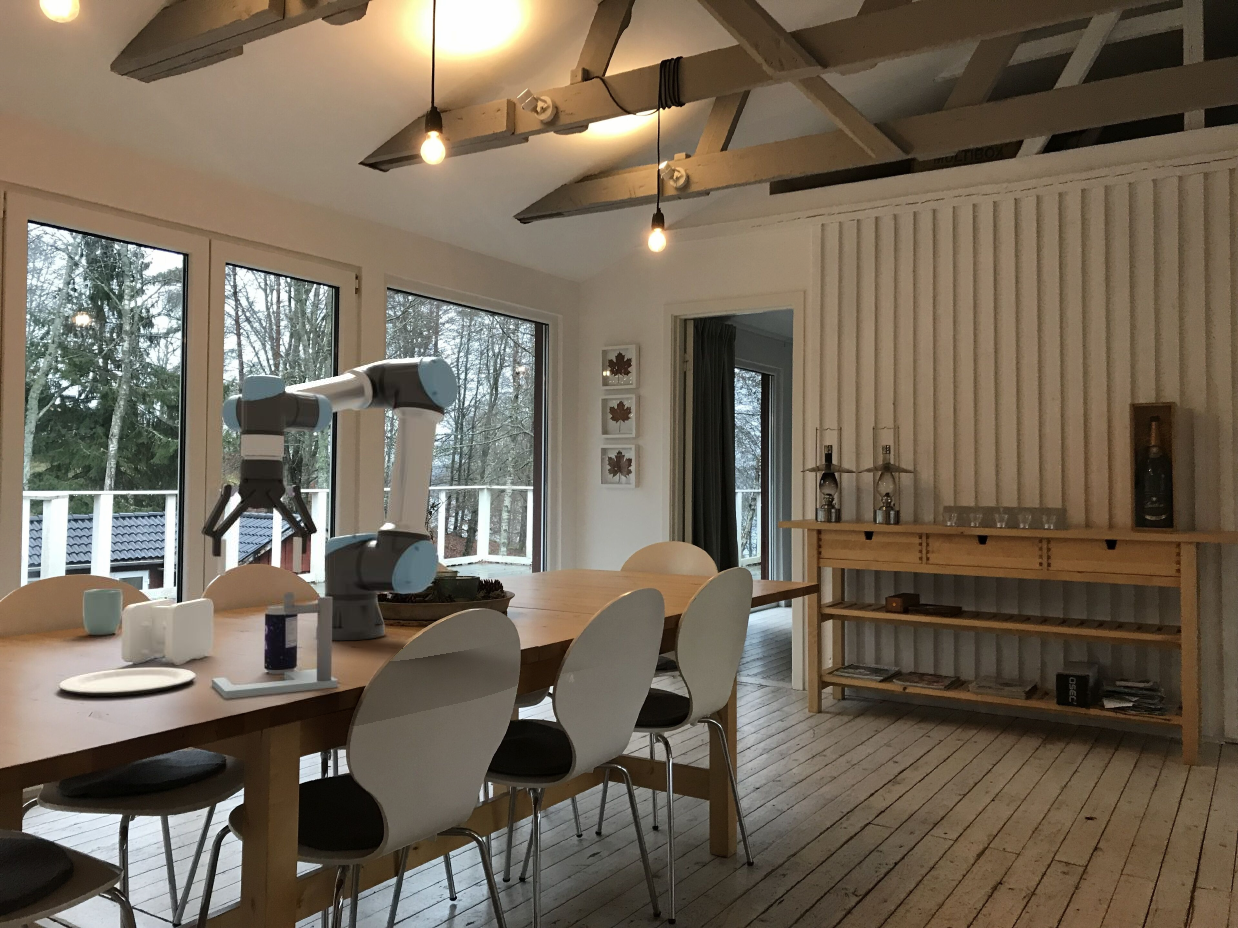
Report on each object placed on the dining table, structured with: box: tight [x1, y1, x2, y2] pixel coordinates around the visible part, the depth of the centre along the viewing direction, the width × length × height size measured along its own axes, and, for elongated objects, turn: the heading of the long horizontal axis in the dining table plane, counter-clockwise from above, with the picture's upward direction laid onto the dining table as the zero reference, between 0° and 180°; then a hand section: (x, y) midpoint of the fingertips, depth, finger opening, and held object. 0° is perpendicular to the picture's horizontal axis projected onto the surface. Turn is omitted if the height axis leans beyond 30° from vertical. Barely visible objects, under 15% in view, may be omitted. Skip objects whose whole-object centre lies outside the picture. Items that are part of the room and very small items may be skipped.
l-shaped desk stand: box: [211, 590, 339, 700], centre depth 165 cm, size 18×12×17 cm, turn 122°
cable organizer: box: [121, 598, 215, 666], centre depth 189 cm, size 15×11×12 cm
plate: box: [58, 667, 197, 697], centre depth 165 cm, size 21×21×2 cm
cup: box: [82, 588, 123, 636], centre depth 222 cm, size 8×8×10 cm
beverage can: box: [263, 604, 299, 675], centre depth 178 cm, size 6×6×12 cm
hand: (260, 573), depth 179 cm, fingers open, 13 cm apart
